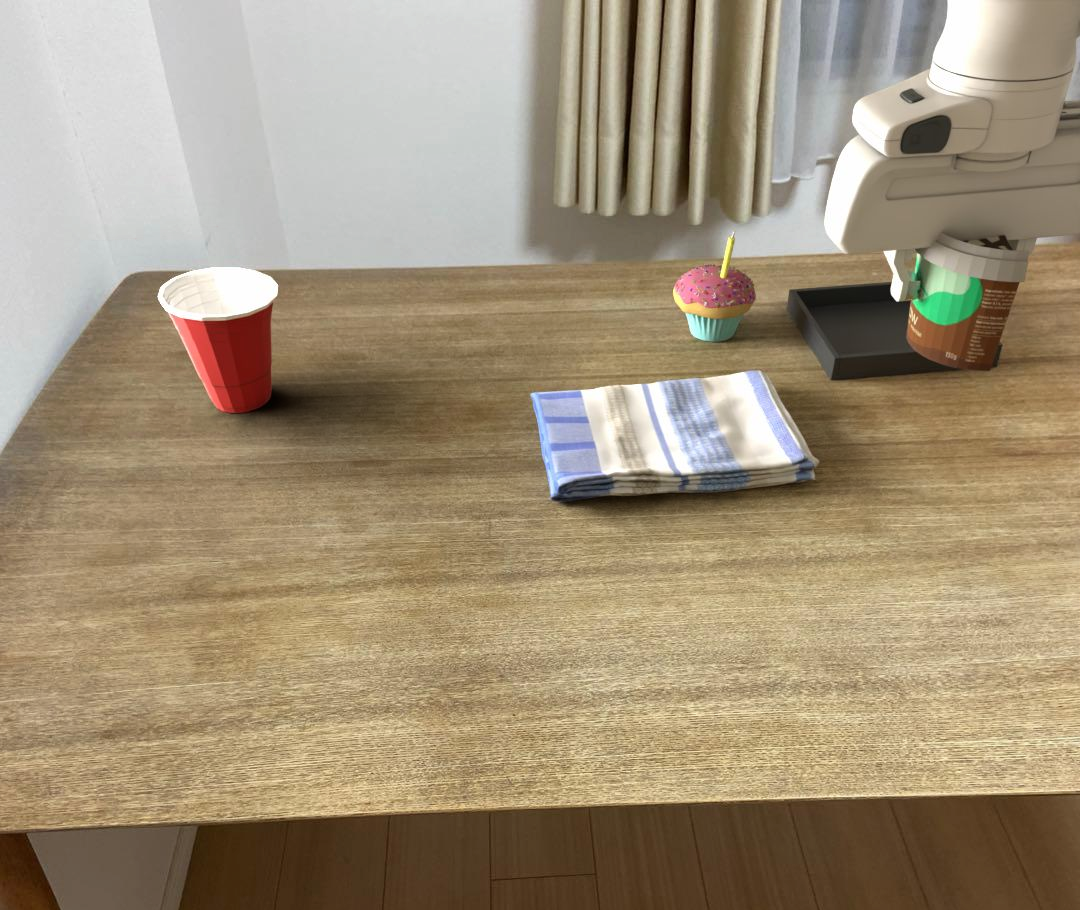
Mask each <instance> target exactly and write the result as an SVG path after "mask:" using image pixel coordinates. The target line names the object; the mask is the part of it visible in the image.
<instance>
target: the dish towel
mask: <svg viewBox="0 0 1080 910" xmlns="http://www.w3.org/2000/svg"><path fill="white" fill-rule="evenodd" d="M530 399H531V401H532V407H533V410H534V414H535V416H536V421H537V422H536V423H537V427H538V432H539V433H538V434H539V441H540V447H541V449H540V450H541V456H542V460H543V462H544V466H545V471H546V472H545V473H546V475H547V481H548V486H549V492H550V499H551V501H552V502H553V501H554V502H558V503H559V502H569V501H576V500H585V499H586V500H587V499H592V498H593V499H594V498H599V497H605V496H621V497H625V496H627V497H628V496H631V497H632V496H646V495H652V494H653V495H654V494H669V493H670V494H671V493H672V494H675V493H676V494H677V493H689V494H696V493H699V494H700V493H722V492H723V493H724V492H734V491H738V490H746V489H754V488H762V487H763V488H764V487H773V486H774V487H775V486H780V485H787V484H799V483H804V482H808V481H815V480H816V473H815V470H814V469H815V468H816V467H817V466H819V464H820V462H821V461H820V460H819V459H818V458H817V457H815V456H814V455H813V453H812V451H811V450H810V448H809V446H808V444H807V443H808V442H807V441H806V439H805V437H804V436H803V435H802V432H801V430H800V429H799V427H798V425H797V424H796V422H795V421H794V419H793V417H792V415H791V413H790V412H789V411H788V410H787V408H786V406H785V405H784V403H783V401H782V400H781V398H780V396H779V393H778V391H777V388H776V387H775V385H774V384H773V382H772V380H771V379H770V377H769V376H768V374H767V373H766V372H765V371H762V370H760V369H757V370H755V369H753V370H746V371H741V372H737V373H732V374H727V375H726V374H725V375H718V376H711V377H704V378H700V377H694V378H684V379H670V380H660V381H656V382H652V383H637V384H636V383H635V384H634V383H633V384H615V385H606V386H600V387H597V388H594V389H577V390H576V389H575V390H574V389H571V390H570V389H569V390H555V391H538V392H532V393H530Z"/></svg>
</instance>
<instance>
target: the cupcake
mask: <svg viewBox="0 0 1080 910" xmlns="http://www.w3.org/2000/svg"><path fill="white" fill-rule="evenodd" d="M735 234H736V231H735V230H734V231H732V235H731V236H729V237H728V238H727V243H726V248H725V253H724V257H723V262H722V265H721V264H718V265H715V263H712V264H702V265H698V266H696V267H693V268H692V269H688V271H687V272H686V273H684V274H681V277H680V278H679V279H678V280H677V281H676V283H675V285H674V287H673V290H672V291H673V292H672V295H673V299H674V302H675V303H676V305H677V306H678V307H679V309H680V310H681V311H682V312H683V313H684V314H685V316H686V319H687V323H688V326H689V331H690V334H691V335H692V336H693V337H694V338H695V339H698V340H700V341H704V342H709V343H710V342H711V343H718V342H724V341H728V340H729V339H731V338H732V337H733V336H734V335H735V333H736V331H737V329H738V326H739V324H740V322H741V321H742V319H743V317H744V316H745V314H747V313H748V312H749V311H750V310H751V308H752V306H753V305H754V303H755V301H756V299H757V294H756V290H755V283H753V280H752V279H751V278H749V276H748V275H747V274H746V273H743V272H742V271H740V270H739V269H736V268H735V267H730V265H731V264H730V263H731V259H732V256H733V250H734V245H735V241H736V238H735Z"/></svg>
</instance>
